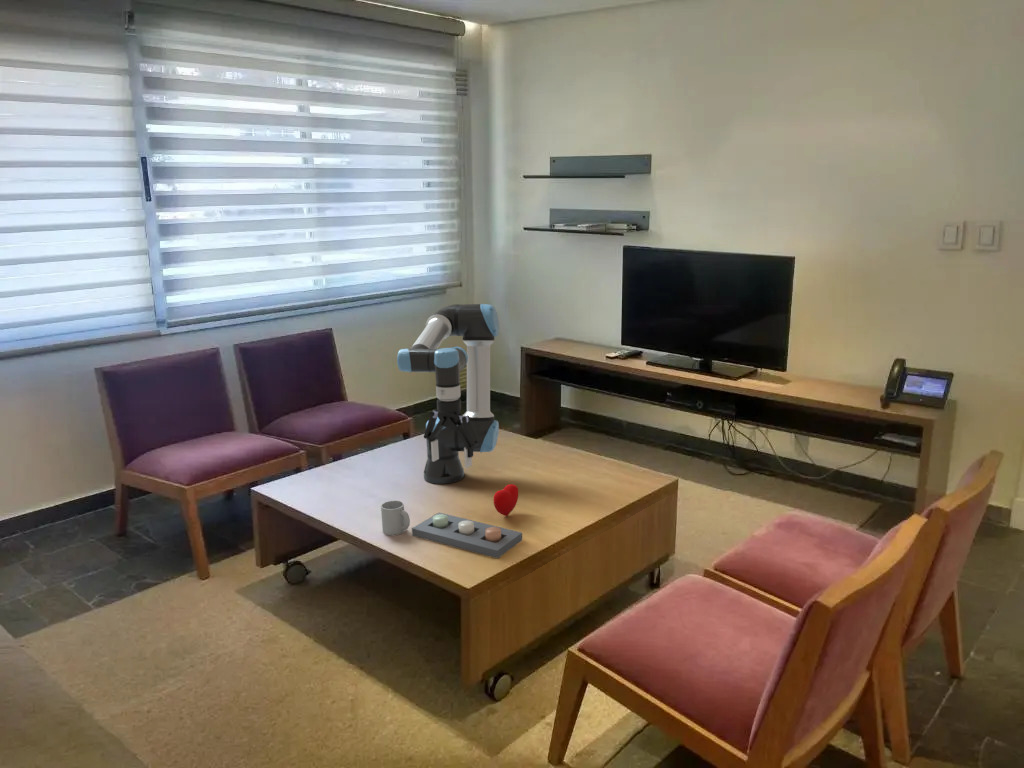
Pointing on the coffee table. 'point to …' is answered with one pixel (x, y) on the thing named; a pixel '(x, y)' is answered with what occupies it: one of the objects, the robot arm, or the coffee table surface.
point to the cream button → (466, 527)
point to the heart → (506, 499)
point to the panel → (472, 542)
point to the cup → (394, 518)
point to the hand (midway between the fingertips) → (451, 463)
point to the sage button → (440, 521)
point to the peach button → (493, 534)
